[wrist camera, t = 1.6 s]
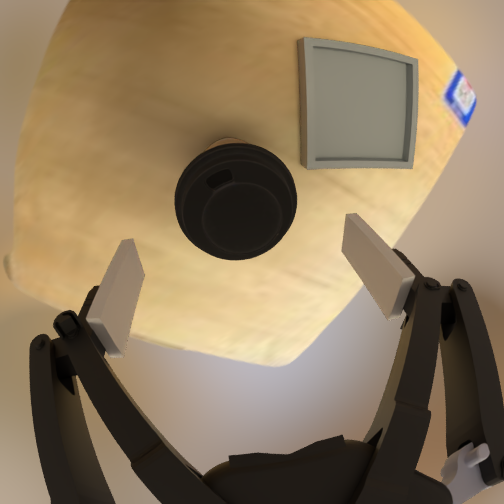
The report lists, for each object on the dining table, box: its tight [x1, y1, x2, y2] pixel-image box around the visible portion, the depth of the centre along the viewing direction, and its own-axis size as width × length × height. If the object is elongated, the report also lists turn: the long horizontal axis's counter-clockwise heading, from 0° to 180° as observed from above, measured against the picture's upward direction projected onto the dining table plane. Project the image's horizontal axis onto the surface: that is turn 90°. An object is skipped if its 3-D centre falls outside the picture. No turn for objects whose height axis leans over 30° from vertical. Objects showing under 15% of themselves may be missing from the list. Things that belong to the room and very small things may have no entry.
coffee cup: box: [175, 138, 297, 260], centre depth 25 cm, size 9×9×15 cm
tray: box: [297, 37, 418, 170], centre depth 28 cm, size 16×16×2 cm
